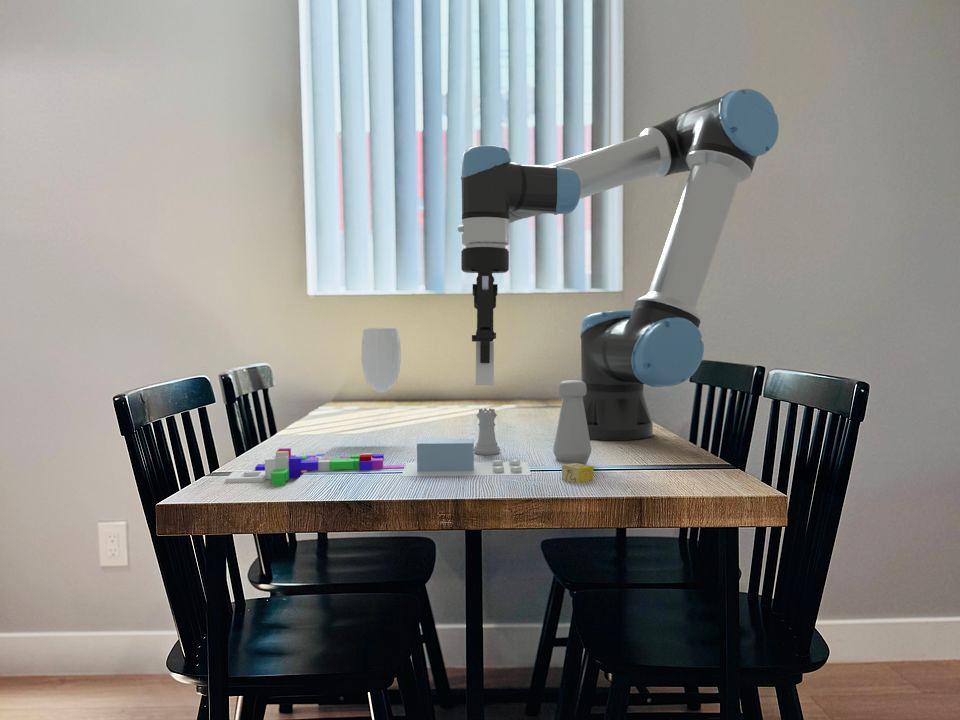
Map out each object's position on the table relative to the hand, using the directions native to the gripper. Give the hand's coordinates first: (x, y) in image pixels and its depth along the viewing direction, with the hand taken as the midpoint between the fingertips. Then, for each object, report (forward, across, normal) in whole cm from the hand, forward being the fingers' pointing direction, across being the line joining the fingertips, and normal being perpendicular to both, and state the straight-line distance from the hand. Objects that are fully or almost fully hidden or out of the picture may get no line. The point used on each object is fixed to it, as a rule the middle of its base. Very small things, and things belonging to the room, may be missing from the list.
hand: (484, 381), depth 128 cm
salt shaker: (+12, +6, +14) cm, 19 cm away
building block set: (+14, +8, -24) cm, 29 cm away
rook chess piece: (+13, 0, 0) cm, 13 cm away
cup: (+13, -18, -18) cm, 29 cm away
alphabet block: (+13, +21, +12) cm, 27 cm away
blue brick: (+12, +13, -6) cm, 18 cm away
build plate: (+12, +13, -2) cm, 18 cm away
